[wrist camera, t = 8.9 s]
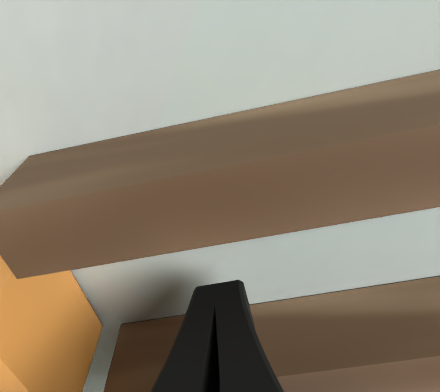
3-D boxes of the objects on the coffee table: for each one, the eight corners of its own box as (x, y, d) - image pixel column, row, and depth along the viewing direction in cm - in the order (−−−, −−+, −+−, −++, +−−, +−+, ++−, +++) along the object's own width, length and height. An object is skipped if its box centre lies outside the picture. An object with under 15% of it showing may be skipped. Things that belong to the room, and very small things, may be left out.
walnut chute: (720, 272, 14) (835, 344, 11) (137, 354, 16) (122, 430, 13) (927, -34, 8) (1228, -29, 6) (29, 155, 11) (-28, 216, 8)
